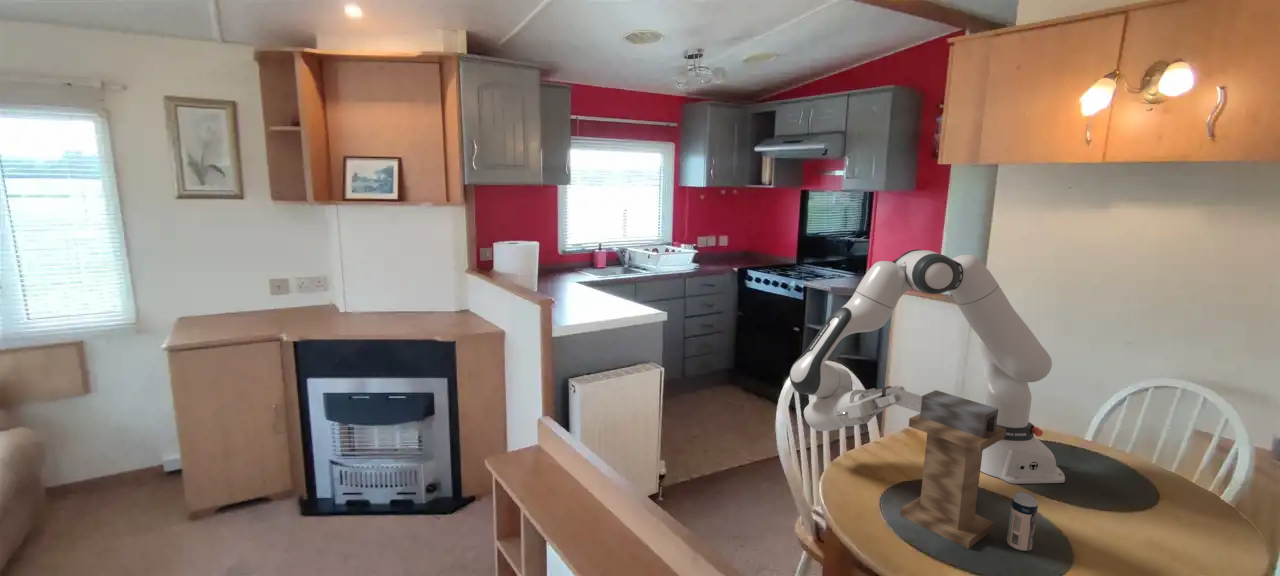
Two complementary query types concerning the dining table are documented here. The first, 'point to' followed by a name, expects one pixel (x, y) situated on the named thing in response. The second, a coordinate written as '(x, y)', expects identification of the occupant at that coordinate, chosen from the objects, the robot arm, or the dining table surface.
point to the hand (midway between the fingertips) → (901, 396)
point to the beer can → (1022, 521)
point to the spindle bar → (904, 398)
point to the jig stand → (953, 466)
